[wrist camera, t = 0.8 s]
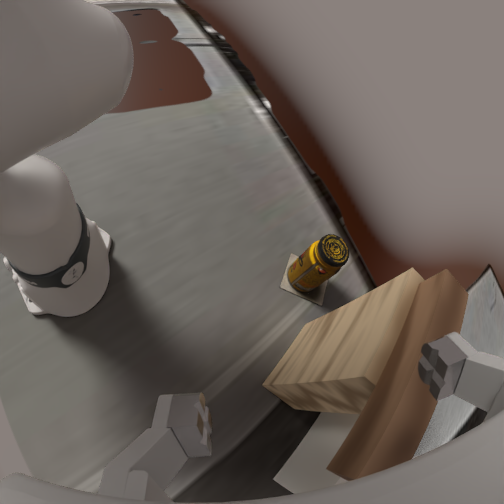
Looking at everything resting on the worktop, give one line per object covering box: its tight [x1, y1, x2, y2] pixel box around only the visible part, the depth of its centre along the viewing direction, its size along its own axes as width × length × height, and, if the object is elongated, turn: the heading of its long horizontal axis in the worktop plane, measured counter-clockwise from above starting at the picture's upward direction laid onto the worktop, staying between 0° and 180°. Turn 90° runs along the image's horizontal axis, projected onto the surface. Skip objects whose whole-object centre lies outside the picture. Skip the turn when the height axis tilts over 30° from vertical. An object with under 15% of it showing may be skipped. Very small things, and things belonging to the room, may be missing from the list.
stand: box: [262, 268, 425, 414], centre depth 36 cm, size 7×13×26 cm, turn 143°
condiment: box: [280, 234, 349, 306], centre depth 49 cm, size 7×8×12 cm
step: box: [273, 412, 360, 494], centre depth 34 cm, size 7×15×15 cm, turn 143°
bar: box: [326, 269, 468, 481], centre depth 21 cm, size 4×20×4 cm, turn 143°
